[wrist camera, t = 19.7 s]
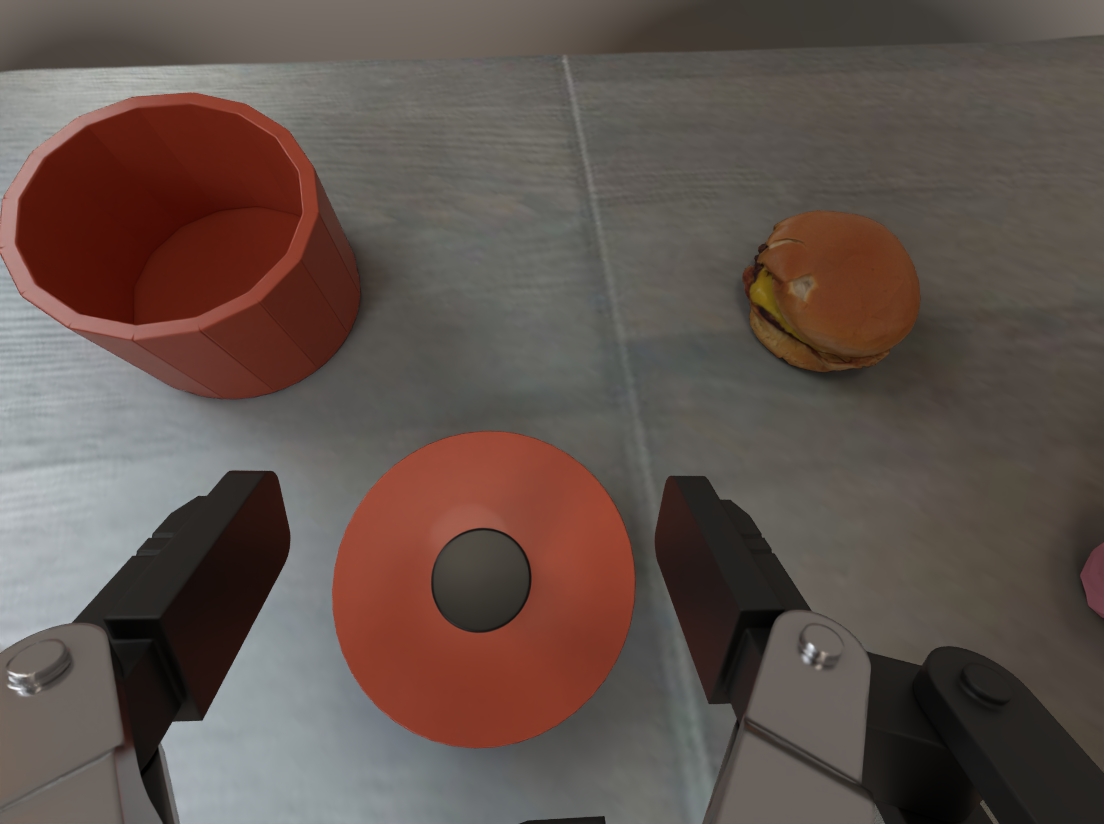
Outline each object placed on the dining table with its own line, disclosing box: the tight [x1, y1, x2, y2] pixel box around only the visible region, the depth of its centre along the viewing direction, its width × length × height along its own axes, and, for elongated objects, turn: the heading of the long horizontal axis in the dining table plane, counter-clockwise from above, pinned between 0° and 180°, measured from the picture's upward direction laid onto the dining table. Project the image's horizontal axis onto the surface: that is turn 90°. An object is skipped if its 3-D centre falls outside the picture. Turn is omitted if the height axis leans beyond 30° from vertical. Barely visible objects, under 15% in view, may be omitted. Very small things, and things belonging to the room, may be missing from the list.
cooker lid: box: [332, 431, 635, 748], centre depth 19 cm, size 13×13×10 cm
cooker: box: [0, 93, 360, 399], centre depth 25 cm, size 12×12×8 cm
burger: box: [743, 211, 920, 372], centre depth 30 cm, size 10×9×5 cm
